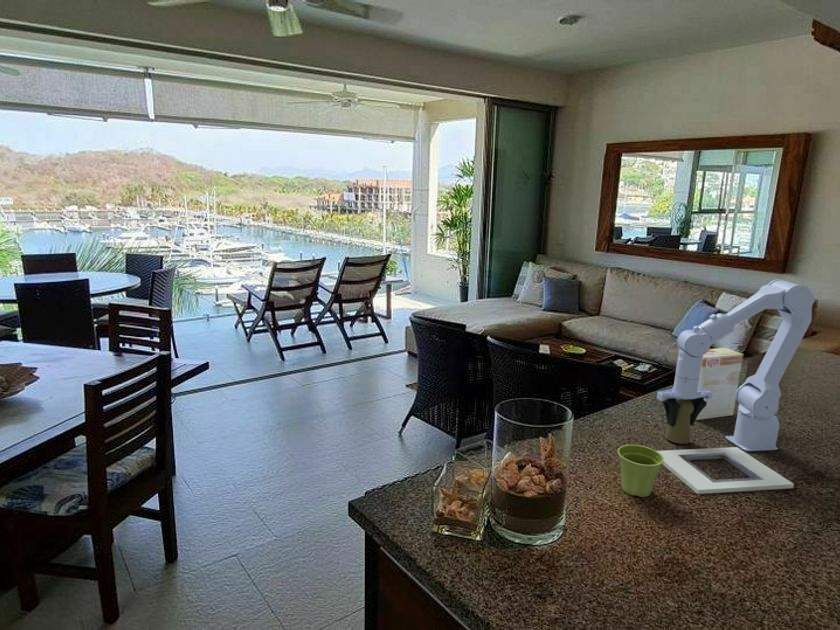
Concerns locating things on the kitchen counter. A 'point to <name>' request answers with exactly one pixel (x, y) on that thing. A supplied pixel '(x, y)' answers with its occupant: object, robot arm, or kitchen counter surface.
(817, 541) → the kitchen counter surface
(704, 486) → the white picture frame
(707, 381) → the coffeecake box
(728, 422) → the kitchen counter surface
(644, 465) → the plant pot
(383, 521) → the kitchen counter surface
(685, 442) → the cork
